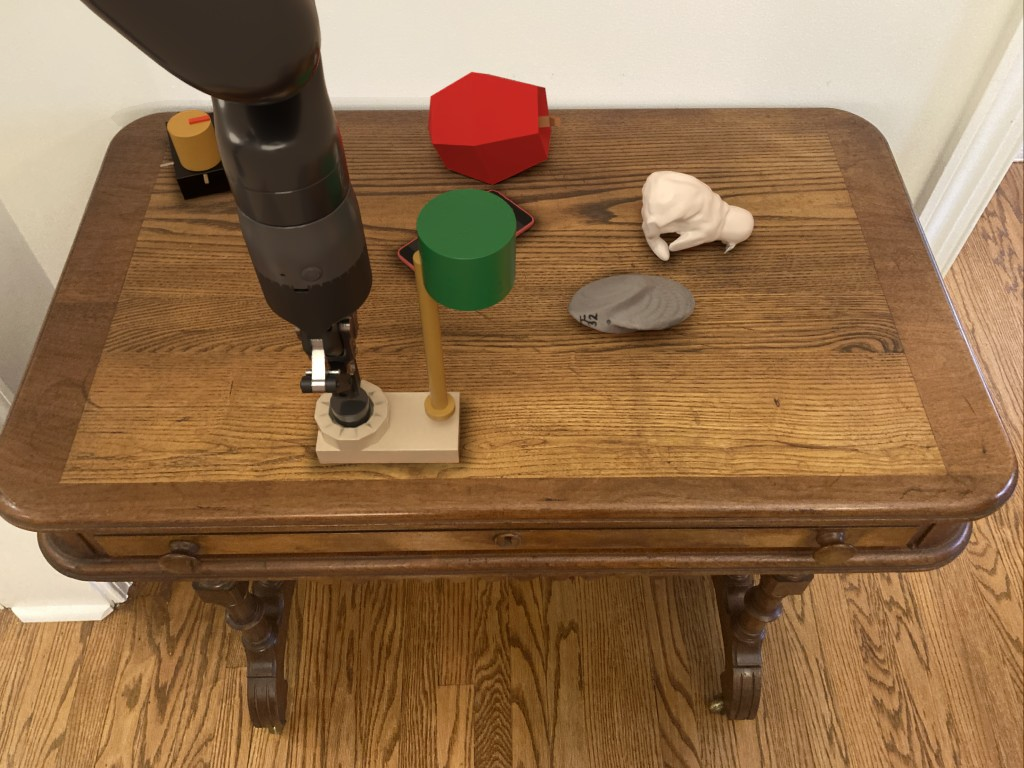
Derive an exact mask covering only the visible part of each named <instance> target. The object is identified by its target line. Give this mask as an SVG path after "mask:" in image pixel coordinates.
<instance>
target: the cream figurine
mask: <svg viewBox="0 0 1024 768" xmlns="http://www.w3.org/2000/svg"><path fill="white" fill-rule="evenodd" d="M641 194H642V207H641V209H640V210H641V211H640V213H641V217H642V220H643V221H642V223H641V230H642V231H643V234H644V236H645V240H646V243H647V245H648V246H649V248H650V250H651V251H652V252H653V253H654V254H655V255H656V256H657V258H659V260H661V261H664V262H667V261H668V260H669V259H670V255H671V254H670V252H678V251H682V250H686V249H689V248H693V247H697V246H700V245H703V244H708V243H713V242H715V241H720V242H721V243H722V244H723V245H726V246H725V249H724V250H725V251H724V253H723V254H724V255H725V254H726V253H728V252H729V251H732V250H733V249H734V248H735V247H736V245H738V244H739V243H742V242H744V241H746V240H747V239H749V238H750V237H751V235H752V233H753V230H754V227H755V219H754V216H753V214H752V213H751V212H750V211H749V210H747V209H745V208H743V207H741V206H737V205H733V204H732V205H731V204H730V205H729V204H728V202H726V201H724V200H723V199H722V198H721V196H720V194H718V193H716V192H714V191H713V190H712V188H711V187H710V186H709V185H708V184H706V183H705V182H703V181H701V180H699V179H698V178H697V177H695V176H693V175H690V174H687V173H684V172H678V171H673V170H658V171H654V172H652V173H651V174H649V175H648V176H647V178H646V180H645V182H644V183H643V185H642V188H641ZM668 233H676V234H678V235H680V236H679V237H678V238H676V239H675V240H674V241H672V242H671V243H670V244H669V245H668V243H667V242H666V241H665V239H663V238H662V237H661V234H668Z"/></svg>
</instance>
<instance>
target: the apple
mask: <svg viewBox="0 0 1024 768" xmlns="http://www.w3.org/2000/svg"><path fill="white" fill-rule="evenodd" d="M558 126H562V119H561V117H560V116H558V115H557V114H556V115H550V110H549V105H548V97H547V90H546V87H544V86H540V85H535V84H532V83H528V82H523V81H519V80H515V79H512V78H508V77H507V78H506V77H502V76H499V75H494V74H490V73H483V72H476V71H475V72H474V71H470V72H469V73H466V75H464V76H461V77H460V78H459V79H457V80H455V81H453V82H452V83H450V84H448V85H446V86H445V87H443V88H442V89H440V90H438V91H436V92H435V93H434V94H432V95H430V97H429V109H428V120H427V132H428V135H429V138H430V141H431V144H432V146H433V148H434V149H435V151H436V153H437V155H438V156H439V158H440V160H441V162H442V164H443V165H444V167H445V168H446V169H447V170H450V171H451V172H455V173H458V174H461V175H464V176H467V177H468V178H472V179H474V180H477V181H480V182H483V183H486V184H488V185H490V186H494V185H496V184H498V183H501V182H502V181H505V180H507V179H508V178H511V177H513V176H515V175H517V174H519V173H521V172H524V171H525V170H528V169H529V168H532V167H534V166H536V165H539V164H540V163H542V162H544V161H547V160H548V159H549V151H550V143H551V138H552V137H551V135H552V127H558Z"/></svg>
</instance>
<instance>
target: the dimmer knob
mask: <svg viewBox="0 0 1024 768" xmlns="http://www.w3.org/2000/svg"><path fill="white" fill-rule="evenodd" d="M168 121H169V122H168ZM168 121H167V122H168V124H167V128H166V130H167V129H168V131H169V134H170V137H171V139H172V142H173V144H174V147H175V149H176V152H177V154H178V157H179V160H180V162H181V164H182V166H183V167H184V168H186V169H188V170H191V171H204V170H208V169H210V168H213V167H214V166H216V165H217V164H218V163H219V162H220V161H221V158H220V154H219V150H218V146H217V140H216V134H215V131H214V128H213V125H212V122H211V119H210V117H209V115H208V114H207V113H206V111H204V110H203V111H202V110H199V109H188V110H183V111H180V112H178V113H176V114H174V115H173V116H172V117H170V119H169V120H168Z"/></svg>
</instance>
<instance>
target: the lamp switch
mask: <svg viewBox="0 0 1024 768" xmlns="http://www.w3.org/2000/svg"><path fill="white" fill-rule="evenodd" d="M330 407H331V410H332V414H333V417H334V419H335V421H336V422H337V423H338V424H340V425H341V426H344V427H356V426H359V425H361V424H363V423H364V422H365V421H366V420H367V419H368V418H369V416H370V413H371V407H370V402H369V398H368V395H367V393H366V391H365V390H364V389H363V388H361V387H360V393H359V396H358V397H356V398H354V399H336V398H335V397H334V396H333V395H332V396H331V398H330Z"/></svg>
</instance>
